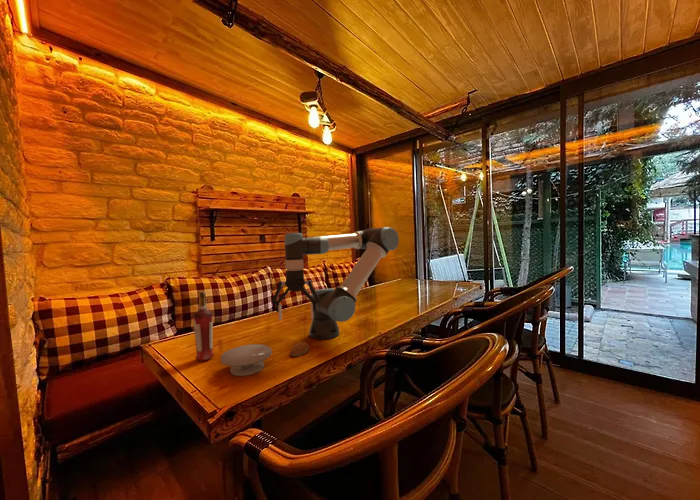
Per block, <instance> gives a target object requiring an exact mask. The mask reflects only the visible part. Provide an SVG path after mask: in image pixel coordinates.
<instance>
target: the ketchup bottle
mask: <svg viewBox="0 0 700 500" xmlns="http://www.w3.org/2000/svg"><path fill="white" fill-rule="evenodd" d="M197 293H198V294H197V295H198V311H196V312H194V313H193V314H192V320H193V331H194V339H195V350H196V356H195V359H196V360H198V361H199V362H207V361H209V360H211V359H212V358H213V357H214V356H215V353H214V348H213V343H214V341H213V338H214V337H213V336H214V335H213V328H214V326H213V325H214V324H213V323H214V319H213V318H214V317H213V315H214V314H213V311H211V310H209V309H207V305H206V304H207V302H206V291H198V292H197Z"/></svg>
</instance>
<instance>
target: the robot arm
mask: <svg viewBox="0 0 700 500" xmlns="http://www.w3.org/2000/svg"><path fill="white" fill-rule="evenodd" d="M399 241H400V240H399V234H398V232H397V231H396V230H395V229H394V228H393V227H389V226H384V227H372V228H367V229H364V230H363V229H362V230H357V231H354V232H352V233H345V234H344V233H341V234H334V235H319V236H309V237H304V235H303V234H302V233H301V232H294V233H293V232H292V233H290V232H289V233H288V232H287V233H286V234H284V243H283V244H284V245H283V246H284V252H285V255H284V257H285V261H284V262H285V263H284V264H285V269H286V271H285V281H282V280H280V281H278V283H277V288H276V291H275V293H274V295H273V297H272V300H271V301H270V302H271V304H273V305H275V311H276V312H275V313H278V321H282V320H283V309H282V308H283V307H282V303H281V302H282V301H283V300H284V299H285V297H286V295H287V294H288V293H289V292H291V293H295V292H301V293H302V294H304V296H306V298H307V299H308V301H310V302H311V303H310V319H311V324H310V326H309V327H310V328H309V333H308V334H309V337H310V338H311V339H316V340H328V339H329V340H330V339H333V338H336V337H338V336H339V335H340V328H339V325H338V322H340V323H342V322H347V321H349V320H350V319H351V318H352V317H353V316H354V314H355V312H356V302H357V300H358V299H357V295H358V293H359V292H360V291H361V289H362V288H363V286H364V285H365V283H366V282H367V280H368V279H369V277H370V275H371V274H372V272H373V271H374V269H375V268H376V266H377V265H378V264H379V262H380V260H381V259H382V258H385V257H386V256H387V255H388V253H389V252H390V251H395V250H396V249H397V248H398V245H399ZM345 249H346V250H347V249H355V250H361V249H362V250H365V251H364V252H363V253H362V255H361V256H360V258H359V259H358V260H357V262H356V264H355V265H354V266H353V268H352V269H351V271H350V272H349V273H348V275H347V277H346V278H345V280H344V281H343V283H341V285H338V286H336V287H335V288H330V287H329V288H322V289H321V288H320V289H315V288H314V286H313V282H312V280H311V279H309V280H305V271H304V268H305V267H304V264H305V263H304V256H305V255H306V256H307V255H310V256H311V255H325V254H327V253H328V251H335V250H336V251H337V250H345ZM305 285H306V286H308V288H309V289H310V292H311V294H310V293H309V291H308V290H307V289H306V288H305V287H304V286H305ZM284 286H285V287H287V288H286V289H285V291H284V292H283V293H282V294H281V295H280V293H281V290H282V288H284ZM279 295H280V297H279ZM278 297H279V298H278Z"/></svg>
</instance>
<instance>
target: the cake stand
mask: <svg viewBox="0 0 700 500" xmlns="http://www.w3.org/2000/svg"><path fill="white" fill-rule="evenodd" d="M271 355H272V348H271V347H270V346H269V345H265V344H261V343H259V344H258V343H255V344H246V345H245V344H244V345H240V346H236V347H233V348H231V349H228V350H226V351H225V352H224V353H222V354H221V355H220V362H221V364H223V365H225V366H229V367H230V369H229V370H230V374H231V375H233V376H234V377H246V376H253V375H255V374H257V373H259V372H261V371H262V370H263V369H264V368H265V364H264V363H265V362H264V361H265V360H267V359H268V358H269V357H270V356H271Z"/></svg>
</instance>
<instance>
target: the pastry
mask: <svg viewBox="0 0 700 500" xmlns="http://www.w3.org/2000/svg"><path fill="white" fill-rule="evenodd" d="M308 351H310V346H309V345H308V343H307V342H305V341H299V342H298V343H296V344H294V345H292V347H291V349H290V352H289V355H290V357H299V356H302V355H304V354H306V353H307V352H308Z"/></svg>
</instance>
